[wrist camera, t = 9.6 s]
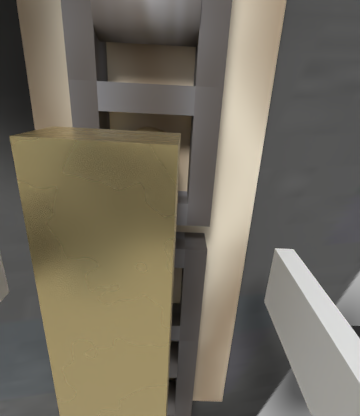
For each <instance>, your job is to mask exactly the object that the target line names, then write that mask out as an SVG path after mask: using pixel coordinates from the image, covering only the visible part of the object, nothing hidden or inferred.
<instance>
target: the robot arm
mask: <svg viewBox="0 0 360 416" xmlns="http://www.w3.org/2000/svg"><path fill="white" fill-rule="evenodd" d="M8 293H9V289H8V285H7V280H6V276H5V271H4V267H3V263H2V258H1V254H0V302H1V301H2V300H3V299H4V297H5V296H6V295H7V294H8ZM264 302H265V305H266V307H267V310H268V312H269V314H270V317H271V319H272V322H273V324H274V327H275V329H276V331H277V334H278V336H279V339H280V341H281V343H282V346H283V348H284V351H285V353H286V356H287V358H288V360H289V363H290V365H291V368H292V370H293V372H294V374H295V377H296V380H297V382H298V384H299V387H300V389H301V392H302V394H303V397H304V399H305V401H306V404H307V406H308V409H309V411H310V413H311V416H360V326H350V325H349V324H348V322H347V321H346V319H345V318H344V317H343V315H342V314H341V313H340V311H339V310H338V309H337V307H336V306H335V304H334V303H333V302H332V300H331V299H330V298H329V296H328V295H327V294H326V292H325V291H324V290H323V288H322V287H321V286H320V284H319V283H318V282H317V280H316V279H315V278H314V276H313V275H312V274H311V272H310V271H309V270H308V268H307V267H306V265H305V264H304V263H303V261H302V260H301V259H300V257H299V256H298V255H297V253H296V252H295V251H294V249H276V248H275V251H274V256H273V261H272V266H271V271H270V276H269V280H268V285H267V290H266V295H265V300H264Z"/></svg>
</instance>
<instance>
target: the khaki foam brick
mask: <svg viewBox="0 0 360 416" xmlns="http://www.w3.org/2000/svg"><path fill="white" fill-rule="evenodd" d="M9 137H10V142H11V148H12V153H13V159H14V164H15V170H16V175H17V181H18V187H19V192H20V198H21V203H22V209H23V214H24V220H25V225H26V231H27V237H28V242H29V248H30V253H31V259H32V264H33V270H34V275H35V281H36V286H37V292H38V298H39V303H40V309H41V314H42V320H43V325H44V331H45V336H46V342H47V347H48V353H49V359H50V364H51V370H52V375H53V381H54V386H55V392H56V397H57V403H58V408H59V414H60V416H167V407H168V386H169V365H170V345H171V324H172V304H173V283H174V262H175V242H176V221H177V201H178V180H179V159H180V139H181V133H169V132H164V131H163V130H161V129H159V128H156V127H150V126H148V127H142V128H139V129H137V130H135V131H132V130H113V129H95V128H76V127H57V126H52V127H48V128H43V129H39V130H34V131H30V132H25V133H21V134H16V135H12V136H9Z"/></svg>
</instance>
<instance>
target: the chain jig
mask: <svg viewBox="0 0 360 416" xmlns="http://www.w3.org/2000/svg"><path fill="white" fill-rule="evenodd" d="M16 2H17V9H18V16H19V23H20V29H21V36H22V43H23V50H24V57H25V64H26V71H27V78H28V85H29V92H30V98H31V105H32V112H33V119H34V126H35V130H39V129H43V128H48V127H52V126H57V127H76V128H95V129H113V130H132V131H135V130H137V129H139V128H142V127H148V126H150V127H156V128H159V129H161V130H163V131H164V132H169V133H181V139H180V159H179V180H178V201H177V221H176V242H175V262H174V283H173V304H172V324H171V345H170V365H169V386H168V407H167V416H191V411H192V401H220V402H222V398H223V392H224V386H225V379H226V373H227V367H228V361H229V355H230V348H231V342H232V336H233V330H234V323H235V317H236V311H237V305H238V299H239V292H240V286H241V280H242V274H243V268H244V261H245V255H246V249H247V243H248V236H249V230H250V224H251V218H252V212H253V205H254V199H255V193H256V187H257V180H258V174H259V168H260V162H261V156H262V149H263V143H264V137H265V131H266V124H267V118H268V112H269V106H270V100H271V93H272V87H273V81H274V75H275V68H276V62H277V56H278V50H279V44H280V37H281V31H282V25H283V19H284V12H285V6H286V0H16Z"/></svg>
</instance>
